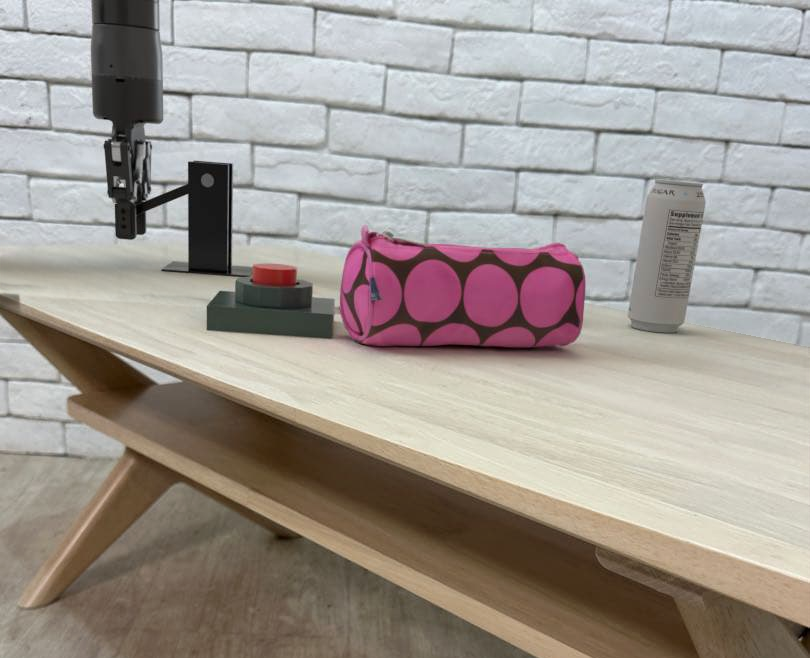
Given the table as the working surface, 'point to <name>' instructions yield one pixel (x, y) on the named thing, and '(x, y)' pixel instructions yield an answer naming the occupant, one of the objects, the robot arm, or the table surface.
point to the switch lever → (161, 199)
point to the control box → (272, 310)
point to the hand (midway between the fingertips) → (131, 235)
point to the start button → (274, 274)
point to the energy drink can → (666, 255)
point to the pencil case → (460, 294)
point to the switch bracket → (210, 222)
